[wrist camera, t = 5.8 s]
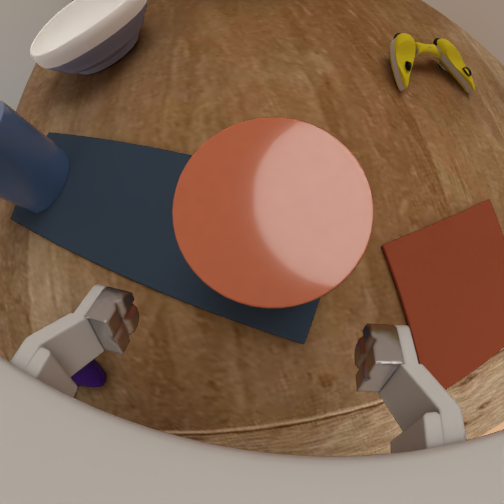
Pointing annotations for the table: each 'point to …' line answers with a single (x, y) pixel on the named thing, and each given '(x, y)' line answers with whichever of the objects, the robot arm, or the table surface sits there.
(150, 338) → the table surface
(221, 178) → the orange cylinder block
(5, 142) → the blue cylinder block
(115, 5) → the bowl
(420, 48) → the game controller
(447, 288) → the terracotta mat
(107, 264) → the slate mat
